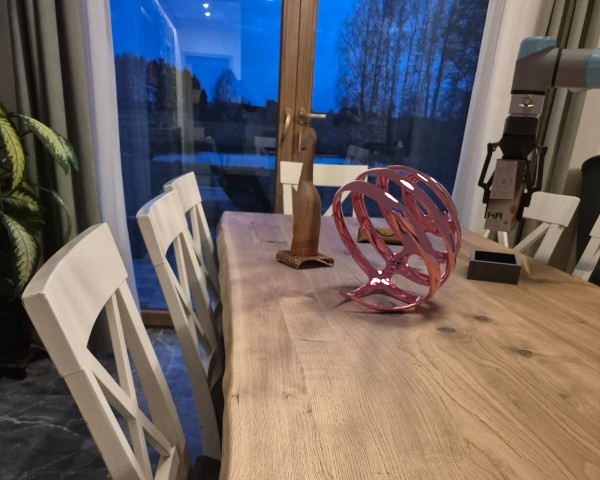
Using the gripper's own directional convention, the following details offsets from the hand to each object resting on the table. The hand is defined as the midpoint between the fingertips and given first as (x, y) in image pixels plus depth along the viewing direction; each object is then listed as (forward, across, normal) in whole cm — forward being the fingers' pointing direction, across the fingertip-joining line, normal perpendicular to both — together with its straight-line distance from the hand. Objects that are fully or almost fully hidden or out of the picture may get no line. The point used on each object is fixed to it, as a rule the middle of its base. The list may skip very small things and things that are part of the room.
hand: (502, 219), depth 142 cm
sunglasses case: (+14, -32, +30) cm, 46 cm away
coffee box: (+3, 0, 0) cm, 3 cm away
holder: (+14, 0, 0) cm, 14 cm away
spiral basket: (+14, -21, -37) cm, 45 cm away
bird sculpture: (+14, -47, -11) cm, 50 cm away
